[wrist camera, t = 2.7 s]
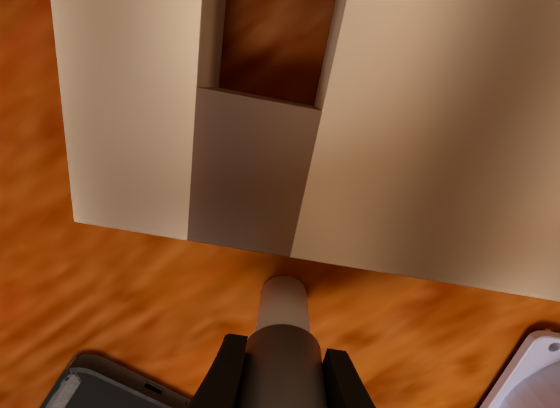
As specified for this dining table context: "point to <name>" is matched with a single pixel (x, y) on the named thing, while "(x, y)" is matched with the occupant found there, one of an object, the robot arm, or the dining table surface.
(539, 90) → the board
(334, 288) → the dining table surface
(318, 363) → the grey cylinder
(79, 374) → the phone
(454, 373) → the dining table surface
